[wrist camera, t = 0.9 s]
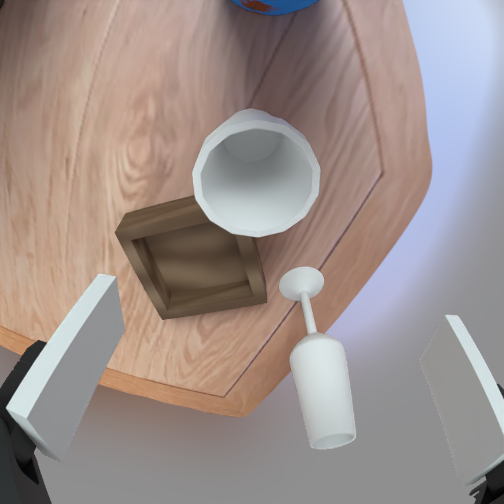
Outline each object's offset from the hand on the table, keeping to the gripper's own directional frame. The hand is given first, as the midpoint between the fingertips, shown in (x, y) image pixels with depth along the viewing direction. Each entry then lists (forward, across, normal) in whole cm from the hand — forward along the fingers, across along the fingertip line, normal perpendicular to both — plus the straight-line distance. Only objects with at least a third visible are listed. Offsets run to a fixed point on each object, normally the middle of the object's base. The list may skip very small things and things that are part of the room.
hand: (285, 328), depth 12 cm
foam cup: (+27, -3, +3) cm, 27 cm away
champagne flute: (+30, +6, -18) cm, 35 cm away
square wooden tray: (+28, -9, -13) cm, 32 cm away
